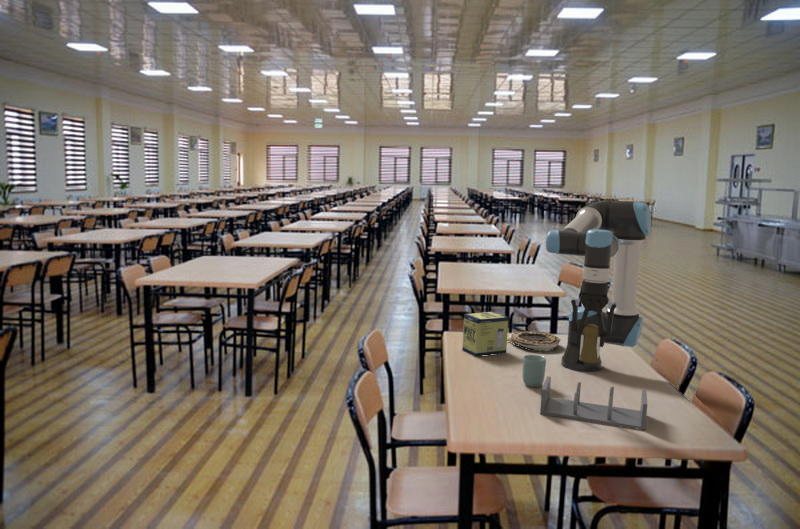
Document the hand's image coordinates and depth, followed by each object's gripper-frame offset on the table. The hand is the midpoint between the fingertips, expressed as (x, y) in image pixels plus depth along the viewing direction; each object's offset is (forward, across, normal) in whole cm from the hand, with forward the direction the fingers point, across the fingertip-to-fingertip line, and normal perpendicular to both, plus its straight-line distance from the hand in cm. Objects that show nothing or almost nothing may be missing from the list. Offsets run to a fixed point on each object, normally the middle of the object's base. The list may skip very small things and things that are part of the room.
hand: (589, 355), depth 199 cm
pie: (+19, -31, +72) cm, 81 cm away
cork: (+2, 0, 0) cm, 2 cm away
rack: (+19, +2, 0) cm, 19 cm away
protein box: (+19, -48, +51) cm, 72 cm away
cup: (+19, -20, +18) cm, 33 cm away
